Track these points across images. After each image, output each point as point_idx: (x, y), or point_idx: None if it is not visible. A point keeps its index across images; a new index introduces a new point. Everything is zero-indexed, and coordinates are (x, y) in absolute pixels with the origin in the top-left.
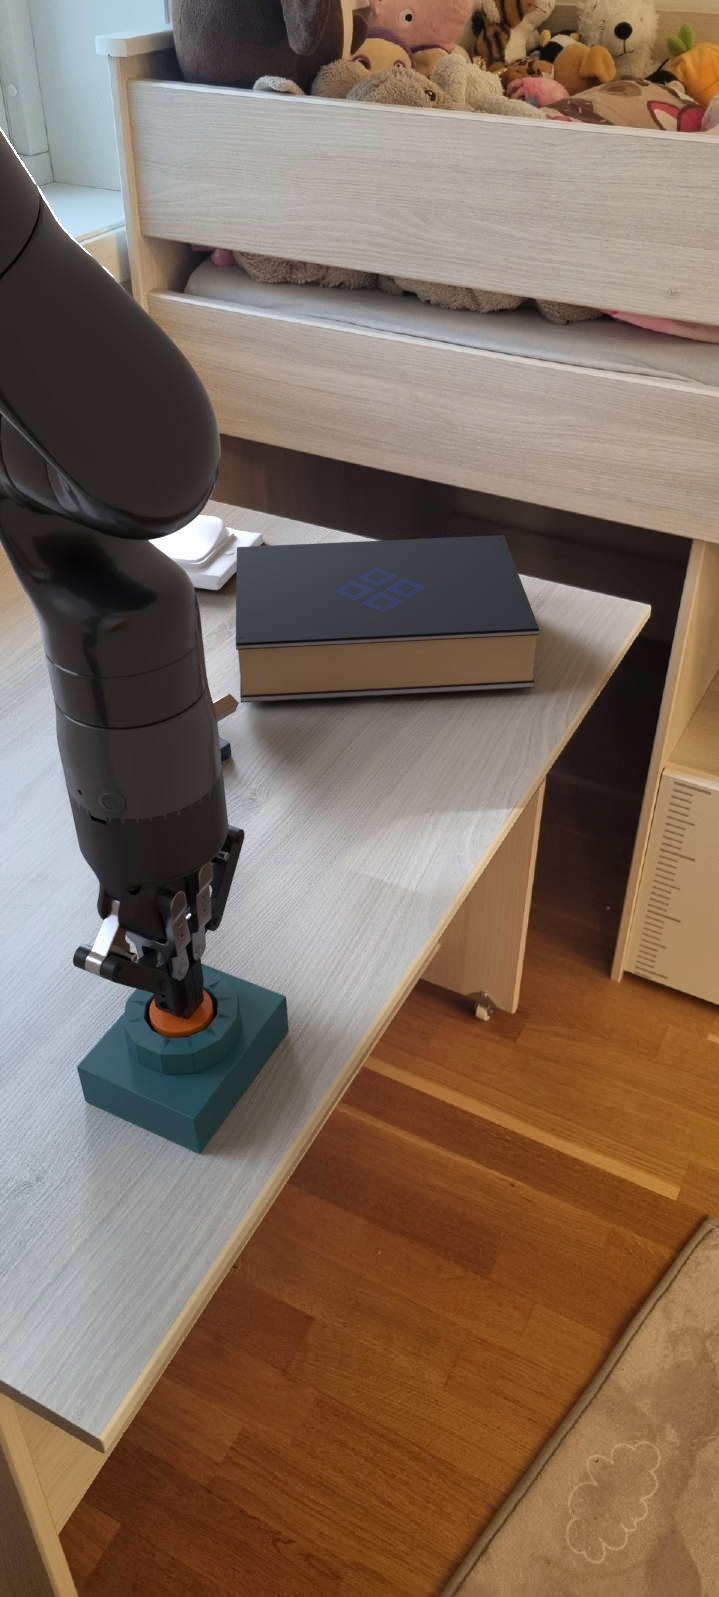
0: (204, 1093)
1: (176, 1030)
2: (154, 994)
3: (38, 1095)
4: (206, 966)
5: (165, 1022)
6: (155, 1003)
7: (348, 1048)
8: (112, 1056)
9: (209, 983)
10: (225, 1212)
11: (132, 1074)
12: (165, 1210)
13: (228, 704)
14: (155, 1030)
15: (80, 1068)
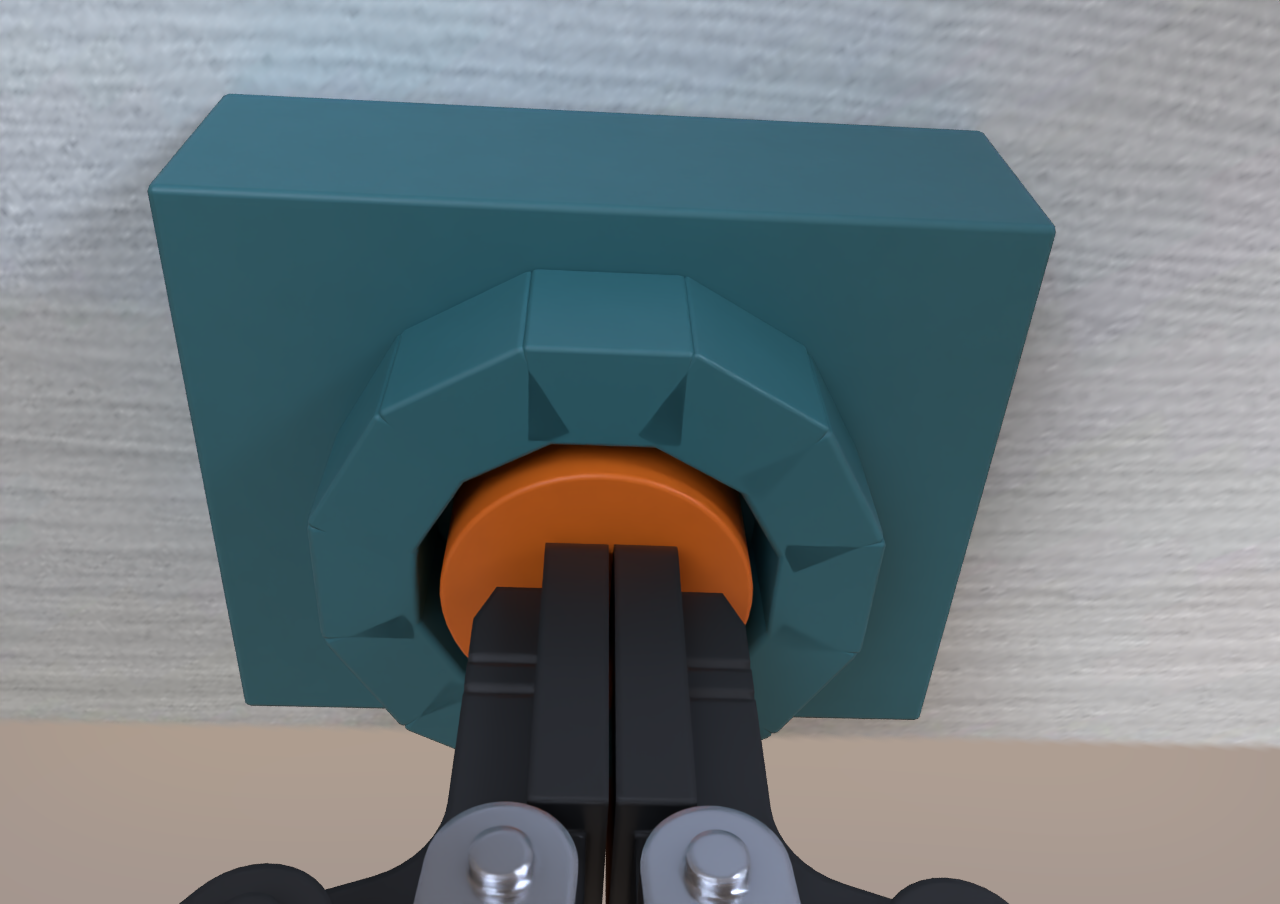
0: (361, 687)
1: (464, 647)
2: (464, 694)
3: None
4: (999, 407)
5: (482, 588)
6: (472, 635)
7: (869, 732)
8: (303, 309)
9: (801, 621)
10: (180, 693)
11: (275, 435)
12: (69, 568)
13: None
14: (454, 519)
15: (153, 209)
